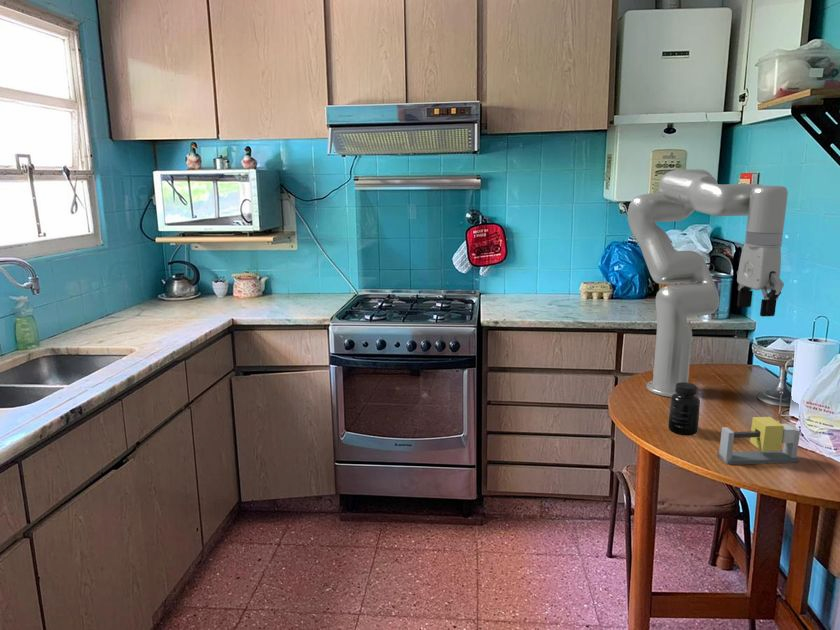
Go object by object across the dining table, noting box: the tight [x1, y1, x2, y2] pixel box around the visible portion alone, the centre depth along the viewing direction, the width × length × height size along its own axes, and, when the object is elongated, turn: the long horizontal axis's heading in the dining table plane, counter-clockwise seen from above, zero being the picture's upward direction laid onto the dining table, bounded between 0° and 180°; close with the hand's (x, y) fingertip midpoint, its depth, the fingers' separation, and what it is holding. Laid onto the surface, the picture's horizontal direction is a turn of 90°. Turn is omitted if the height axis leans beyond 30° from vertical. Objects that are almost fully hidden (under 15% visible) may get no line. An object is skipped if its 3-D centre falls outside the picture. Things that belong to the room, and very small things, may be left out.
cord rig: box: [716, 423, 801, 465], centre depth 137 cm, size 4×16×8 cm, turn 92°
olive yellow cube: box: [749, 416, 784, 452], centre depth 137 cm, size 5×4×6 cm
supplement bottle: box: [668, 382, 701, 437], centre depth 152 cm, size 7×7×12 cm
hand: (755, 311), depth 147 cm, fingers open, 9 cm apart
